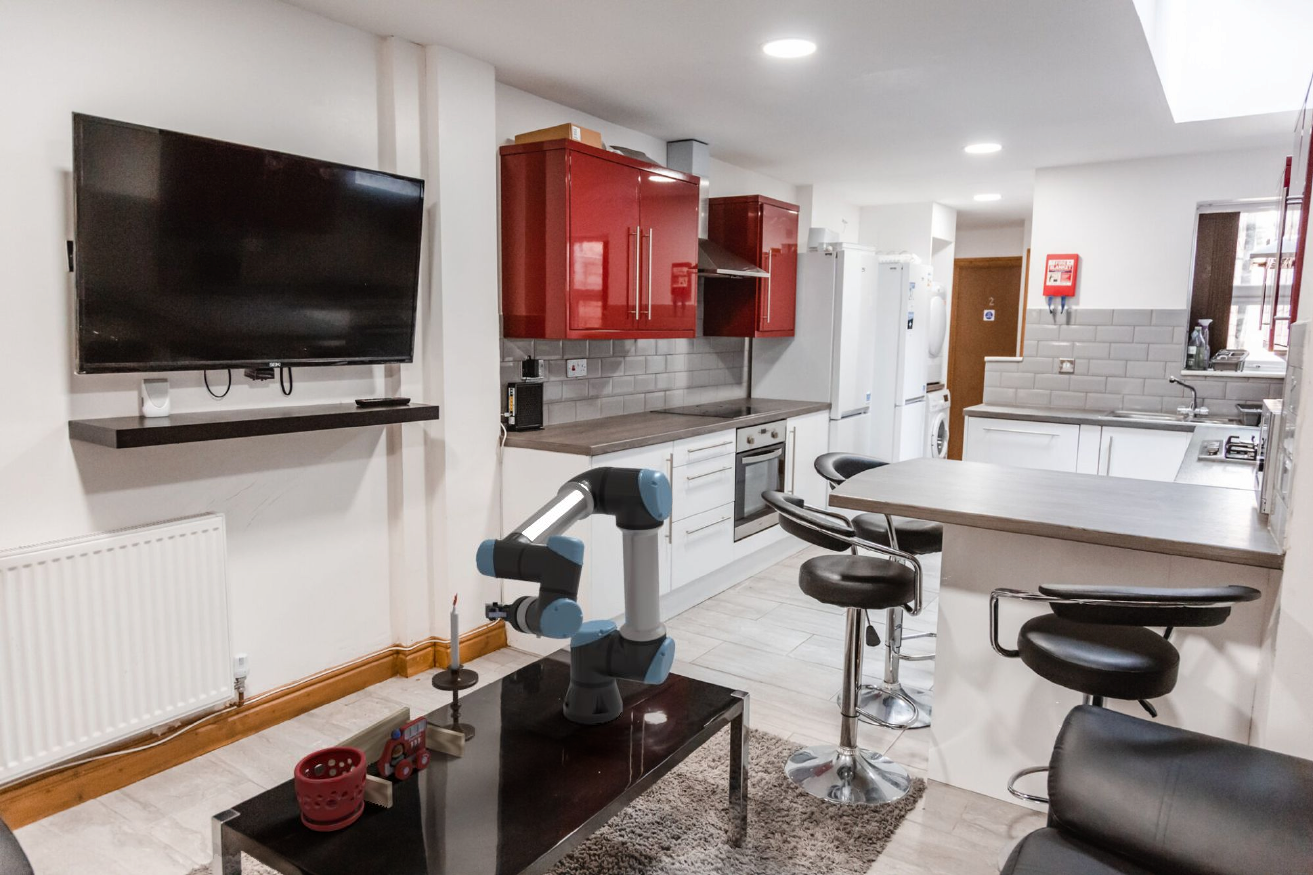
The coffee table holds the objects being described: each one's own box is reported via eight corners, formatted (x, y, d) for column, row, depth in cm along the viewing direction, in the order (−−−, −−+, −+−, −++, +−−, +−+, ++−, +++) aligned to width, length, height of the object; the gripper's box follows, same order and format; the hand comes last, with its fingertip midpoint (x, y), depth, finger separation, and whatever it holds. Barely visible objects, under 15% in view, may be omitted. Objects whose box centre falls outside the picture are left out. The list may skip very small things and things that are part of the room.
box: (464, 754, 187) (464, 721, 186) (388, 808, 165) (387, 770, 165) (406, 738, 195) (405, 706, 194) (325, 787, 173) (324, 751, 172)
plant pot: (296, 809, 165) (294, 752, 163) (365, 795, 170) (363, 740, 169) (295, 845, 153) (293, 784, 151) (370, 830, 158) (368, 770, 157)
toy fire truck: (370, 778, 177) (369, 732, 176) (414, 754, 188) (413, 710, 186) (392, 787, 173) (391, 740, 172) (436, 762, 184) (435, 718, 183)
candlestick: (469, 721, 204) (467, 584, 201) (486, 738, 195) (484, 595, 192) (426, 731, 198) (423, 591, 194) (441, 750, 189) (439, 603, 186)
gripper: (502, 636, 162) (460, 627, 182) (561, 632, 169) (514, 624, 189) (503, 597, 163) (460, 593, 183) (561, 595, 171) (515, 591, 190)
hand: (488, 609), depth 186 cm, fingers closed
